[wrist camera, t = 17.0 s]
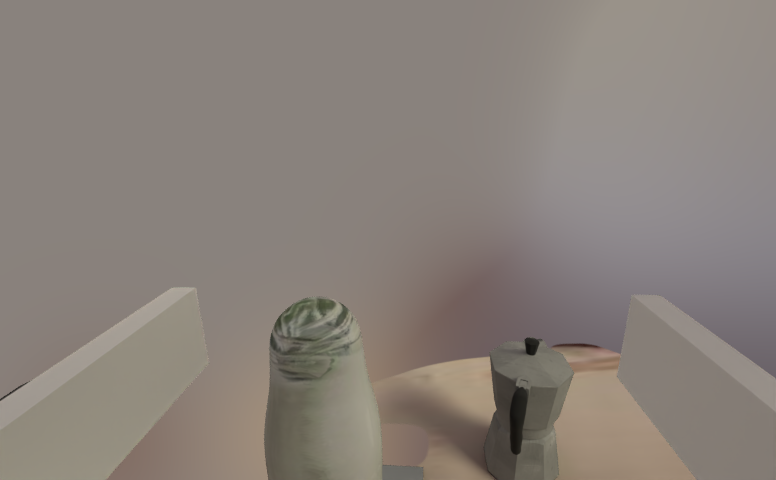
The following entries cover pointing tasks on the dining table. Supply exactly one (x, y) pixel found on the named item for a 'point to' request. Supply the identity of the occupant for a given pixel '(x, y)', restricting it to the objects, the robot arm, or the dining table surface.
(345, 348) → the grey green rounded cylinder
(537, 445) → the coffeepot
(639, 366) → the robot arm
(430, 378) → the dining table surface
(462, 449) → the dining table surface
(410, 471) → the mat
